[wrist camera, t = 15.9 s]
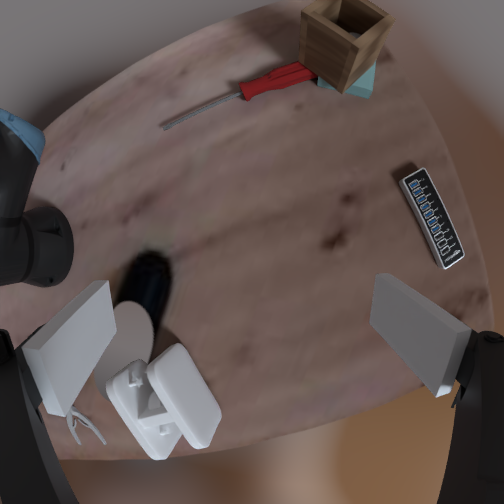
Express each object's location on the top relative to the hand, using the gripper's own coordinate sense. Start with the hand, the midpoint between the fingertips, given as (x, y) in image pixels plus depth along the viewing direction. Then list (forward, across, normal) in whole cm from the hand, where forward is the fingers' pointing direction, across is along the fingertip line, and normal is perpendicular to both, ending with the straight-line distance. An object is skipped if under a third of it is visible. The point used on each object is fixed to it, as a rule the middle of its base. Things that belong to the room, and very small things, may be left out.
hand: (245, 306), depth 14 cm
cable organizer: (+28, -9, -27) cm, 40 cm away
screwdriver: (+34, +1, +18) cm, 39 cm away
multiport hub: (+25, +29, +1) cm, 38 cm away
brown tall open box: (+28, +15, +24) cm, 40 cm away
